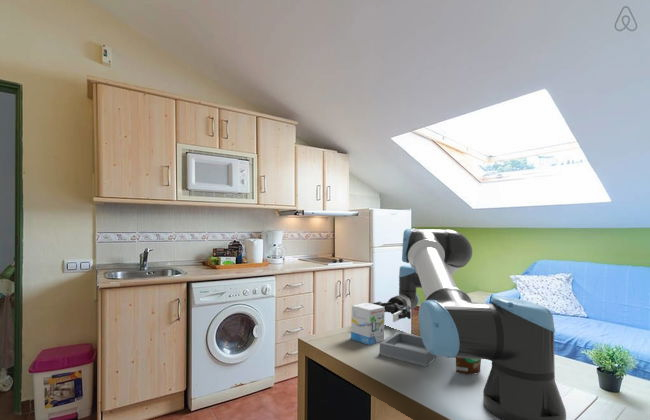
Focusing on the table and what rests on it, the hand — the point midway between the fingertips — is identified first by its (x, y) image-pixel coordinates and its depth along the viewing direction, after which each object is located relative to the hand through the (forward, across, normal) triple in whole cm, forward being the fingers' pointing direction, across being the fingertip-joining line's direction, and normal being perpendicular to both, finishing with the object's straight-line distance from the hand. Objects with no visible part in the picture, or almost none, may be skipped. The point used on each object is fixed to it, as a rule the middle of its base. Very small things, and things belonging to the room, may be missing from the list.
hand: (376, 314), depth 121 cm
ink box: (+8, 0, -7) cm, 11 cm away
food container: (+12, -35, -7) cm, 38 cm away
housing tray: (+11, -17, -7) cm, 21 cm away
